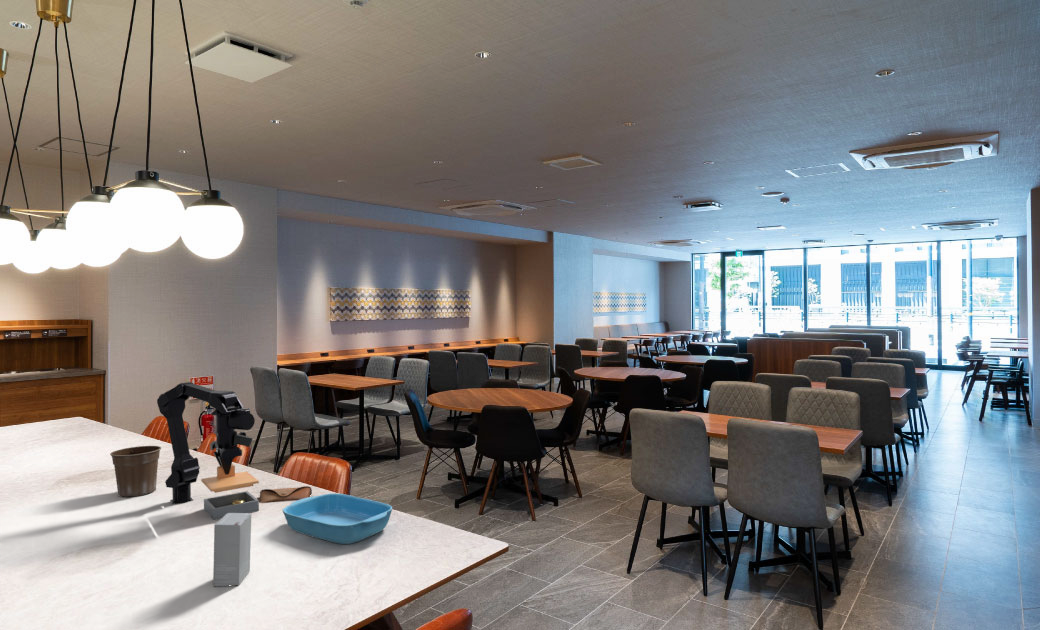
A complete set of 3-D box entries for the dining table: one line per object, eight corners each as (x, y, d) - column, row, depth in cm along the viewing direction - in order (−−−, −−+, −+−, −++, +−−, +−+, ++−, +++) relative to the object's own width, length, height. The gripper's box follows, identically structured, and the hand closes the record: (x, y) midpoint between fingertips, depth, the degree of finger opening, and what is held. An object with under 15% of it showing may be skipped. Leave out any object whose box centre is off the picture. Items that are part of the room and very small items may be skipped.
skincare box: (225, 573, 156) (224, 512, 156) (253, 572, 157) (253, 511, 157) (211, 588, 148) (210, 523, 147) (241, 586, 148) (240, 522, 148)
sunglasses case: (256, 505, 211) (257, 486, 214) (258, 510, 216) (260, 491, 220) (310, 500, 215) (311, 482, 219) (311, 505, 221) (312, 487, 224)
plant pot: (100, 496, 223) (99, 453, 223) (142, 484, 238) (141, 444, 238) (130, 501, 217) (130, 456, 217) (171, 489, 232) (171, 447, 232)
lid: (201, 484, 206) (201, 468, 205) (246, 476, 215) (246, 461, 215) (211, 494, 194) (211, 478, 194) (258, 486, 203) (258, 470, 203)
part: (230, 505, 209) (230, 500, 209) (243, 503, 212) (243, 498, 212) (233, 508, 206) (233, 503, 206) (246, 506, 208) (245, 501, 208)
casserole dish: (269, 529, 188) (269, 506, 188) (327, 509, 207) (327, 488, 207) (350, 554, 168) (350, 529, 168) (406, 529, 187) (406, 506, 187)
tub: (203, 510, 206) (203, 499, 206) (247, 502, 214) (247, 491, 214) (213, 521, 195) (213, 509, 195) (258, 512, 204) (258, 500, 204)
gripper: (257, 429, 206) (258, 474, 206) (242, 421, 221) (243, 464, 221) (222, 433, 199) (222, 480, 199) (209, 425, 214) (210, 469, 214)
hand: (225, 473), depth 209 cm, fingers closed on lid, 3 cm apart
